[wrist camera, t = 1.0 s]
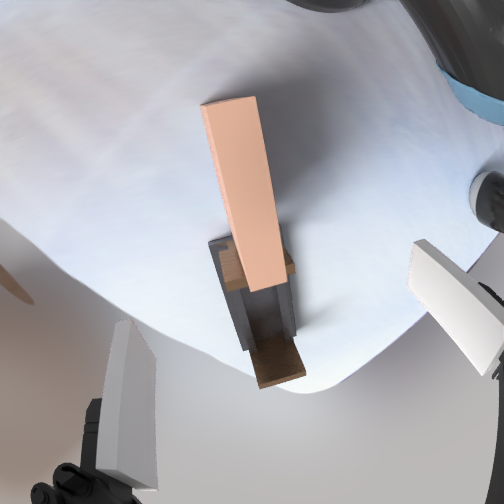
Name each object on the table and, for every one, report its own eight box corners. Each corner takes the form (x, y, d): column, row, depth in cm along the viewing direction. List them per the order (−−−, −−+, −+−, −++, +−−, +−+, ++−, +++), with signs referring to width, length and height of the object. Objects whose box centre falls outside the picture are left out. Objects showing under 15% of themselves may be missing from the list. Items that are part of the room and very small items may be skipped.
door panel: (227, 99, 27) (255, 96, 16) (252, 214, 35) (287, 281, 23) (199, 105, 27) (205, 106, 15) (228, 221, 34) (250, 292, 23)
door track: (278, 223, 36) (303, 260, 28) (294, 331, 46) (312, 373, 39) (208, 242, 35) (214, 285, 28) (242, 346, 46) (253, 390, 38)
